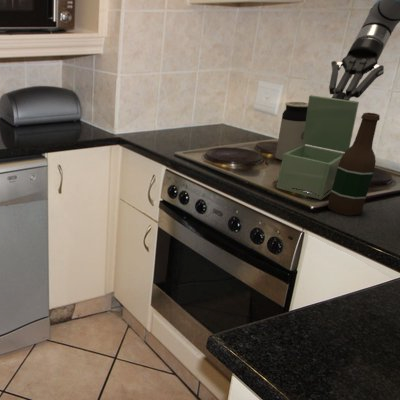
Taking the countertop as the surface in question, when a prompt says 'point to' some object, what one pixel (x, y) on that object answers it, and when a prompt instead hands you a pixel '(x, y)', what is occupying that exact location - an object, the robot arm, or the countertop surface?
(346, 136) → the canister lid
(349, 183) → the beer bottle
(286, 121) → the travel mug
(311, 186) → the green open box
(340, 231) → the countertop surface
